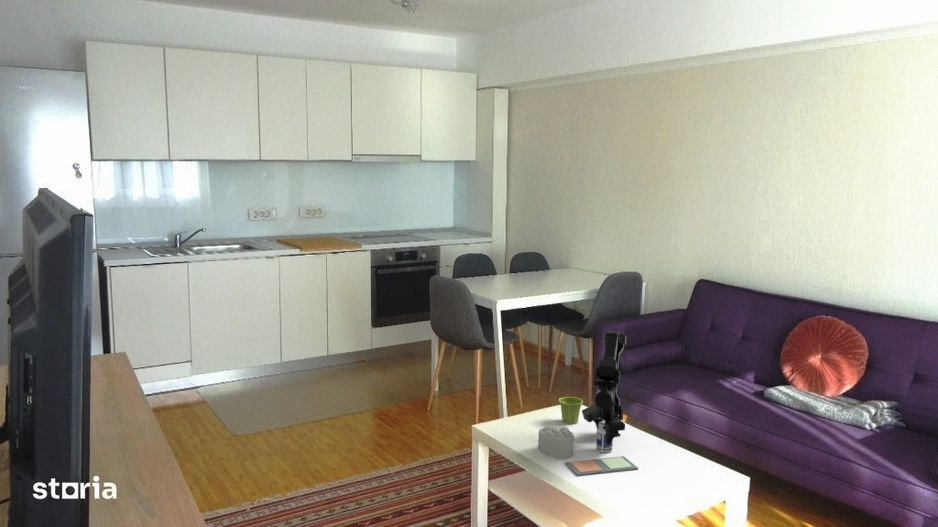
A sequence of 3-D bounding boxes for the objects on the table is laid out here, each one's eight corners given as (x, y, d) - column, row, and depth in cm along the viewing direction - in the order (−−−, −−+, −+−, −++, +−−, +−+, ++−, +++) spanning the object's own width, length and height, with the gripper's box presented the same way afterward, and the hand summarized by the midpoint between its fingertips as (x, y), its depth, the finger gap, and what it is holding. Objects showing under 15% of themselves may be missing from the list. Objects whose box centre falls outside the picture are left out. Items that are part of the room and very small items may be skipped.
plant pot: (557, 416, 288) (558, 396, 287) (581, 418, 287) (582, 397, 286) (558, 425, 279) (559, 403, 278) (582, 426, 278) (583, 404, 277)
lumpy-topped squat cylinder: (556, 443, 260) (557, 420, 259) (580, 455, 249) (581, 431, 248) (534, 449, 254) (534, 426, 253) (558, 462, 243) (558, 437, 242)
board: (623, 457, 248) (623, 455, 248) (638, 469, 238) (638, 467, 238) (565, 463, 242) (565, 461, 242) (577, 476, 232) (577, 473, 232)
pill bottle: (613, 448, 256) (614, 421, 255) (611, 454, 251) (612, 426, 249) (597, 446, 258) (598, 419, 257) (594, 451, 253) (595, 424, 251)
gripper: (574, 392, 259) (572, 433, 261) (597, 409, 241) (595, 453, 243) (602, 390, 262) (600, 431, 264) (626, 406, 244) (624, 450, 246)
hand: (604, 441), depth 254 cm, fingers closed on pill bottle, 6 cm apart
